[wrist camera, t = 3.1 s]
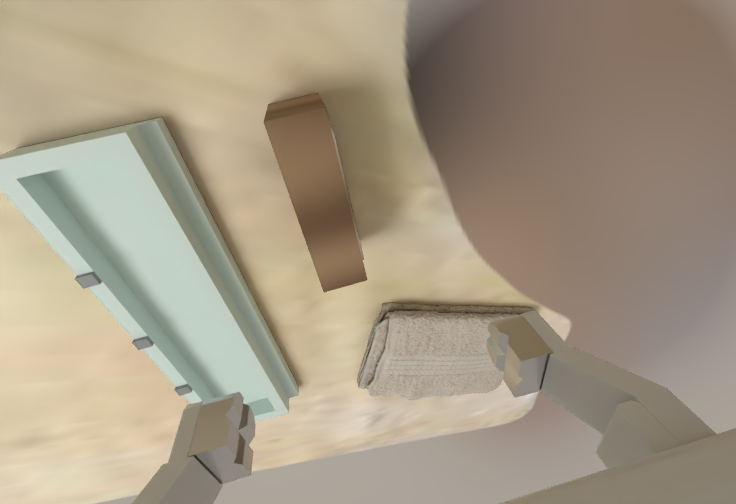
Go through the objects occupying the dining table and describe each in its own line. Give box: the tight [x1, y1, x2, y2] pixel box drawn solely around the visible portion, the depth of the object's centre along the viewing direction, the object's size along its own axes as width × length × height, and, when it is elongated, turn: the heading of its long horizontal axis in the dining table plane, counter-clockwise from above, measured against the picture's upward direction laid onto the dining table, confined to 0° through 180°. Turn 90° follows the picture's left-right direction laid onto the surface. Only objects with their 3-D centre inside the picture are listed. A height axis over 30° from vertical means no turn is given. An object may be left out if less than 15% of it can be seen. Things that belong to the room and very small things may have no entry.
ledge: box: [0, 117, 298, 423], centre depth 25 cm, size 27×8×3 cm, turn 10°
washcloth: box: [357, 303, 535, 400], centre depth 34 cm, size 12×18×3 cm, turn 79°
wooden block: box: [264, 93, 367, 292], centre depth 21 cm, size 11×3×5 cm, turn 11°
